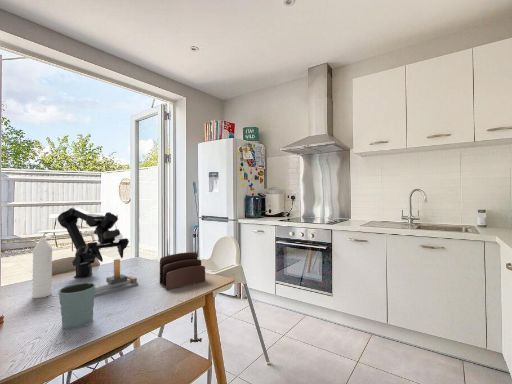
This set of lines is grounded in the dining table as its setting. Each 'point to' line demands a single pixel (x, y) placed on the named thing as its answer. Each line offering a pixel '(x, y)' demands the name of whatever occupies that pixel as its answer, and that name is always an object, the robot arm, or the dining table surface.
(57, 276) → the dining table surface
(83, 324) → the green planter pot
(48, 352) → the dining table surface
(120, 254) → the robot arm
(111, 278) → the carriage
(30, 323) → the dining table surface
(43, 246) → the water bottle
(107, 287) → the rail
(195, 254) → the letter holder
